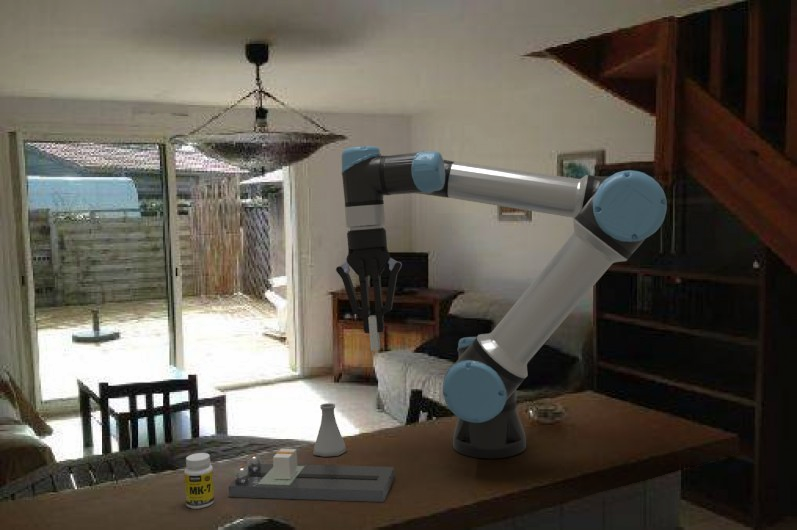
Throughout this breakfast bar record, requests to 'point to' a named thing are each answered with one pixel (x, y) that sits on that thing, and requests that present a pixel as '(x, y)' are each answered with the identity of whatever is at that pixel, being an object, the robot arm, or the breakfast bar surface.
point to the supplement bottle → (199, 481)
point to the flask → (329, 434)
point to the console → (312, 482)
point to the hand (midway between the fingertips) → (375, 349)
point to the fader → (285, 463)
